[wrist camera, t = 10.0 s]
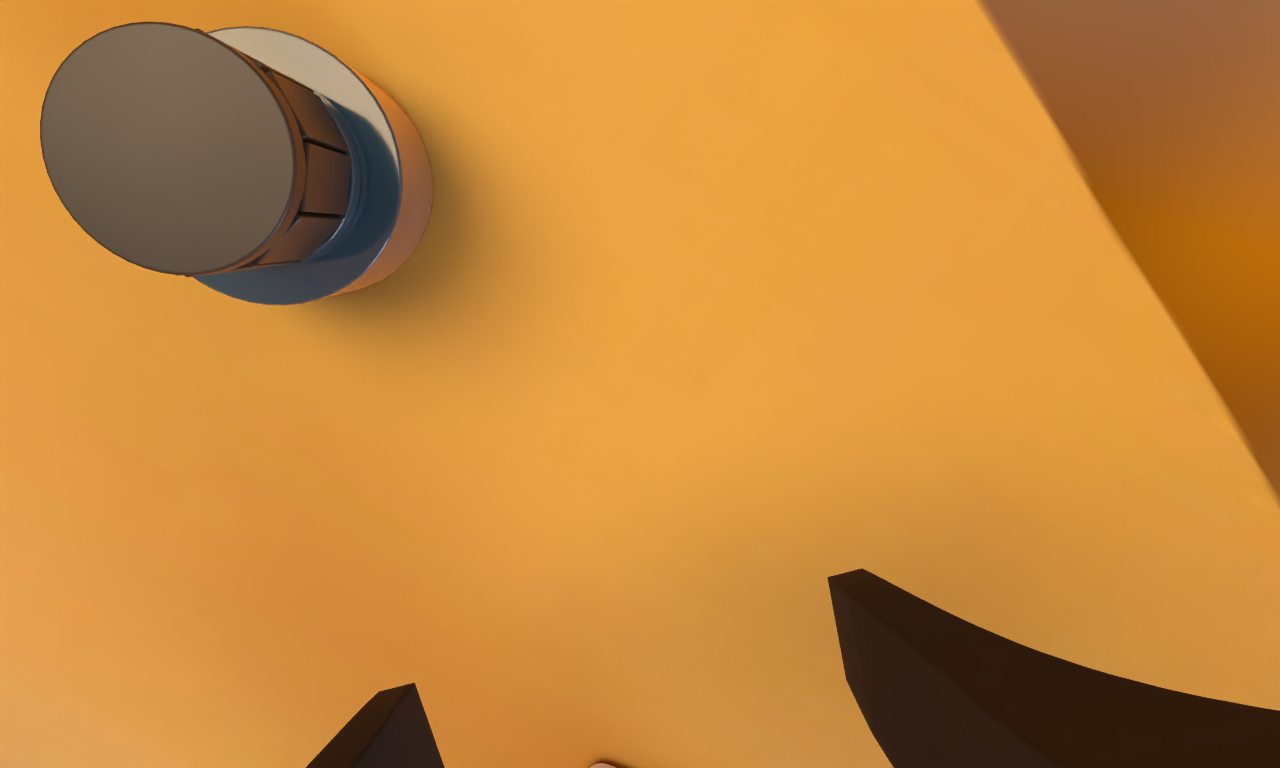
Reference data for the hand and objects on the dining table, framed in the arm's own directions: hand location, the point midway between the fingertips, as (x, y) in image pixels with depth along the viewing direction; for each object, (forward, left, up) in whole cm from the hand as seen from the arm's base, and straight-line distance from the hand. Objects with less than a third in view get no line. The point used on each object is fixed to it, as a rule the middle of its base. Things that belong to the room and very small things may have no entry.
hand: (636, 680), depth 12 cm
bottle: (+4, +11, -10) cm, 15 cm away
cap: (+4, +11, -6) cm, 13 cm away
